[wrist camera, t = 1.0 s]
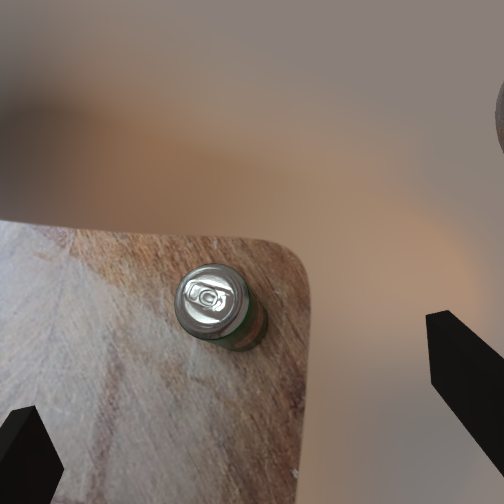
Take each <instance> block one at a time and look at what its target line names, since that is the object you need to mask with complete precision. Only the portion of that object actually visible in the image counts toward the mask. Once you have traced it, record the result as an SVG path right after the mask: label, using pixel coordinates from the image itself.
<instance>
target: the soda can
mask: <svg viewBox="0 0 504 504" xmlns="http://www.w3.org/2000/svg"><path fill="white" fill-rule="evenodd" d="M174 308H175V314H176V317H177V319H178V321H179V323H180V325H181V326H182V327H183V329H184V330H185V331H186V332H188V333H189V334H190V335H192V336H194V337H196V338H198V339H201V340H204V341H206V342H209V343H212V344H214V345H217V346H220V347H222V348H225V349H228V350H230V351H235V352H242V351H247V350H250V349H252V348H253V347H255V346H256V345H258V344H259V343H260V342H261V340H262V339H263V337H264V335H265V333H266V331H267V326H268V318H267V313H266V311H265V309H264V307H263V305H262V304H261V302H260V301H259V300H258V298H257V297H256V295H255V294H254V292H253V291H252V290H251V288H250V287H249V285H248V284H247V283H246V281H245V280H244V278H243V277H242V276H241V275H240V274H239V273H238V272H237V271H236V270H235V269H233V268H231V267H229V266H226V265H223V264H218V263H211V264H205V265H202V266H199V267H197V268H195V269H193V270H191V271H190V272H189V273H187V274H186V275H185V276H184V277H183V279H182V280H181V282H180V283H179V285H178V287H177V290H176V294H175V300H174Z"/></svg>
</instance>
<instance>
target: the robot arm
mask: <svg viewBox="0 0 504 504" xmlns="http://www.w3.org/2000/svg"><path fill="white" fill-rule="evenodd" d="M426 327H427V339H428V349H429V362H430V373H431V384H432V385H433V387H434V388H435V389H436V390H437V392H438V393H439V394H440V396H441V397H442V398H443V399H444V401H445V402H446V403H447V405H448V406H449V407H450V408H451V410H452V411H453V412H454V414H455V415H456V416H457V417H458V419H459V420H460V421H461V423H462V424H463V425H464V426H465V428H466V429H467V430H468V432H469V433H470V434H471V435H472V437H473V438H474V439H475V441H476V442H477V443H478V444H479V446H480V447H481V448H482V450H483V451H484V452H485V453H486V455H487V456H488V457H489V459H490V460H491V461H492V462H493V464H494V465H495V466H496V468H497V469H498V470H499V472H500V473H501V474H502V475H503V477H504V359H503V358H502V357H501V356H500V355H499V354H498V353H497V352H496V351H494V350H493V349H492V348H491V347H490V346H489V345H487V344H486V343H485V342H484V341H483V340H482V339H481V338H480V337H478V336H477V335H476V334H475V333H474V332H473V331H471V330H470V329H469V328H468V327H467V326H466V325H465V324H464V323H462V322H461V321H460V320H459V319H458V318H457V317H455V316H454V315H453V314H452V313H451V312H450V311H449V310H446V311H441V312H437V313H433V314H428V315H426ZM63 471H64V467H63V465H62V463H61V461H60V458H59V456H58V454H57V452H56V450H55V448H54V446H53V443H52V441H51V439H50V437H49V435H48V433H47V431H46V428H45V426H44V424H43V422H42V420H41V418H40V416H39V414H38V411H37V409H36V407H35V405H34V406H30V407H25V408H21V409H17V410H12V411H11V412H10V414H9V415H8V417H7V418H6V420H5V421H4V423H3V424H2V426H1V427H0V504H50V503H51V500H52V498H53V495H54V493H55V491H56V488H57V486H58V483H59V481H60V479H61V476H62V474H63Z"/></svg>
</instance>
